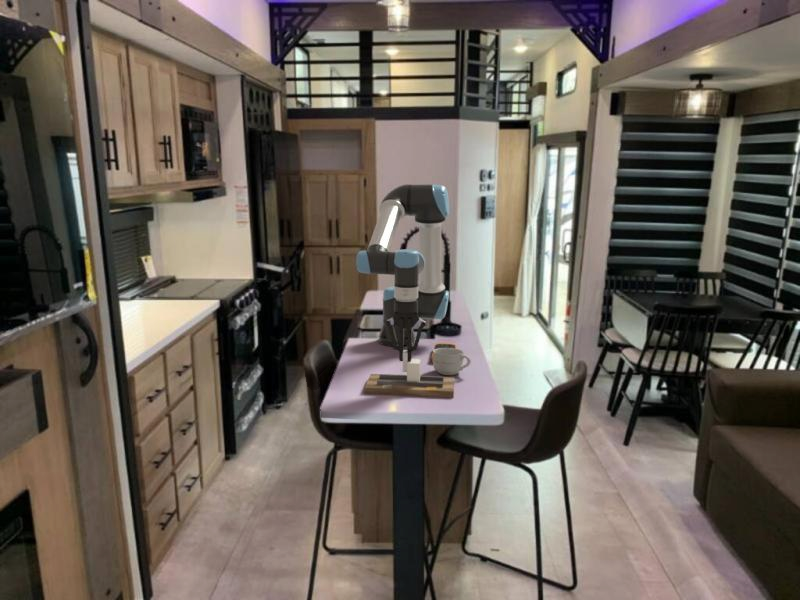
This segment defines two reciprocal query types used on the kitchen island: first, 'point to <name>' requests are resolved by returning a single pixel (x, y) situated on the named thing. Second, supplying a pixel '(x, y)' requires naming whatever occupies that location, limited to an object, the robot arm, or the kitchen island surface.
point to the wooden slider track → (410, 385)
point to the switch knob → (413, 370)
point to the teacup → (449, 360)
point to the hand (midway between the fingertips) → (405, 370)
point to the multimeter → (443, 346)
